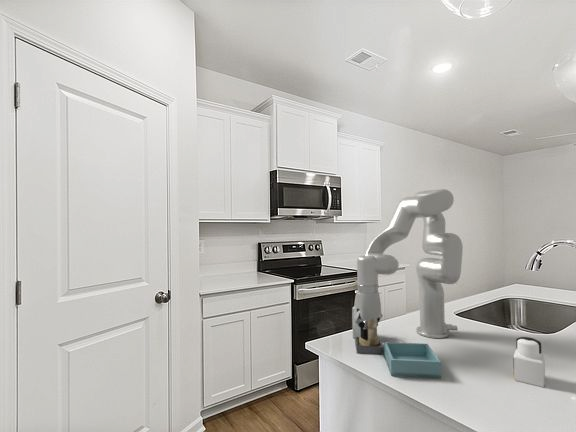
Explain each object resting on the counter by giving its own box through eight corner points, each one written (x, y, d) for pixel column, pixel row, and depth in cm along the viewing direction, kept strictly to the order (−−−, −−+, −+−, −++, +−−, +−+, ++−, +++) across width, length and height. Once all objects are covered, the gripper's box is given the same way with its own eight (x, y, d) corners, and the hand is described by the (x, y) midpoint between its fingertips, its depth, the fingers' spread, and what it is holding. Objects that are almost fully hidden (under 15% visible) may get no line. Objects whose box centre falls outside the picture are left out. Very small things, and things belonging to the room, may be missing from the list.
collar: (380, 344, 127) (380, 337, 127) (383, 354, 118) (383, 347, 118) (355, 343, 129) (355, 336, 129) (356, 353, 119) (356, 346, 119)
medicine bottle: (516, 371, 103) (515, 333, 103) (544, 378, 99) (543, 338, 99) (513, 380, 98) (512, 340, 98) (544, 388, 93) (543, 345, 93)
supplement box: (352, 338, 134) (351, 307, 134) (357, 332, 140) (356, 303, 141) (370, 341, 130) (369, 309, 131) (374, 335, 137) (373, 305, 137)
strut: (369, 342, 127) (368, 311, 127) (379, 346, 123) (378, 314, 123) (359, 345, 124) (358, 313, 124) (369, 349, 120) (368, 317, 120)
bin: (427, 358, 114) (427, 343, 114) (441, 378, 100) (440, 361, 100) (384, 356, 116) (384, 342, 116) (391, 376, 102) (391, 359, 102)
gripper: (376, 284, 131) (377, 330, 131) (344, 290, 122) (345, 339, 122) (390, 287, 125) (392, 336, 125) (358, 293, 116) (359, 345, 116)
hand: (368, 337), depth 123 cm, fingers closed on strut, 4 cm apart
